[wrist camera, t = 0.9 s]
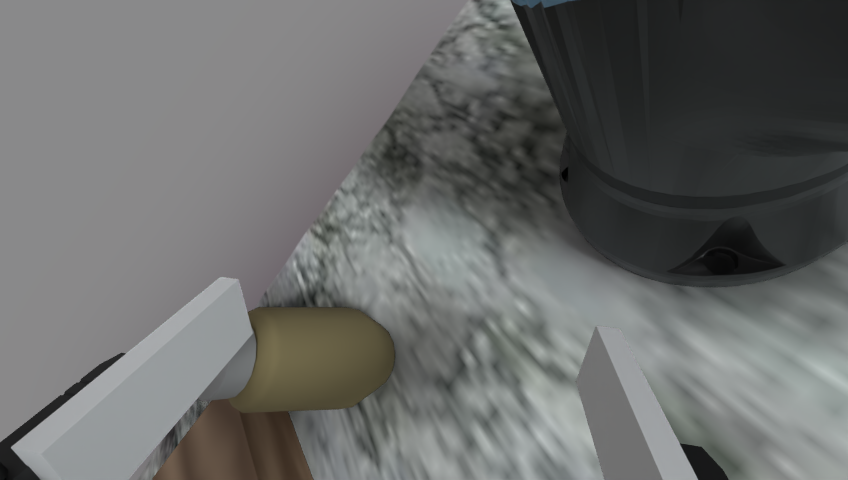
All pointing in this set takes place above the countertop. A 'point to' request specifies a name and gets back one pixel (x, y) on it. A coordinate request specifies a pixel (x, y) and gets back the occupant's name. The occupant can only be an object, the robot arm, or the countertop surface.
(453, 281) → the countertop surface
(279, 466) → the walnut plinth
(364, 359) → the squeeze bottle
